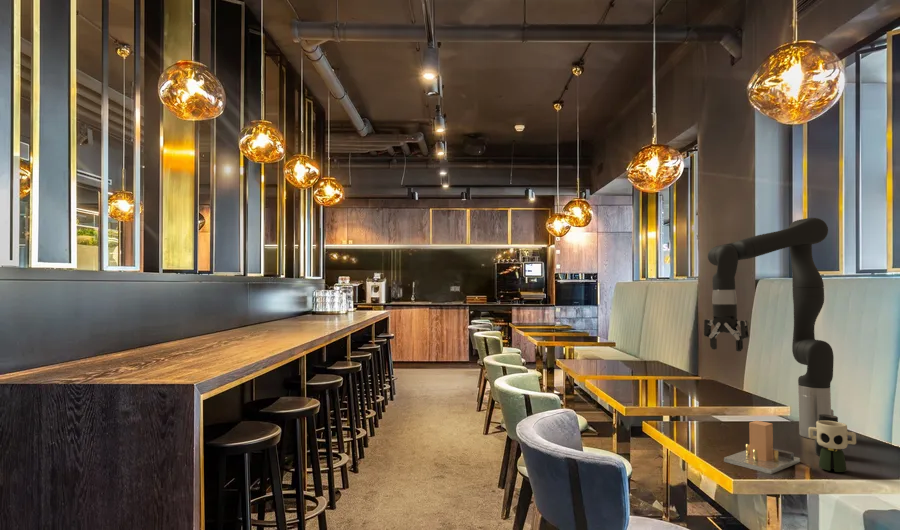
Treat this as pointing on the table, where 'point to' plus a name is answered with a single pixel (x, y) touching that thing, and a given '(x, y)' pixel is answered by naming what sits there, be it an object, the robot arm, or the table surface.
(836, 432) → the character mug
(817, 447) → the supplement bottle
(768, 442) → the block
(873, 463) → the table surface
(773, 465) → the plate
